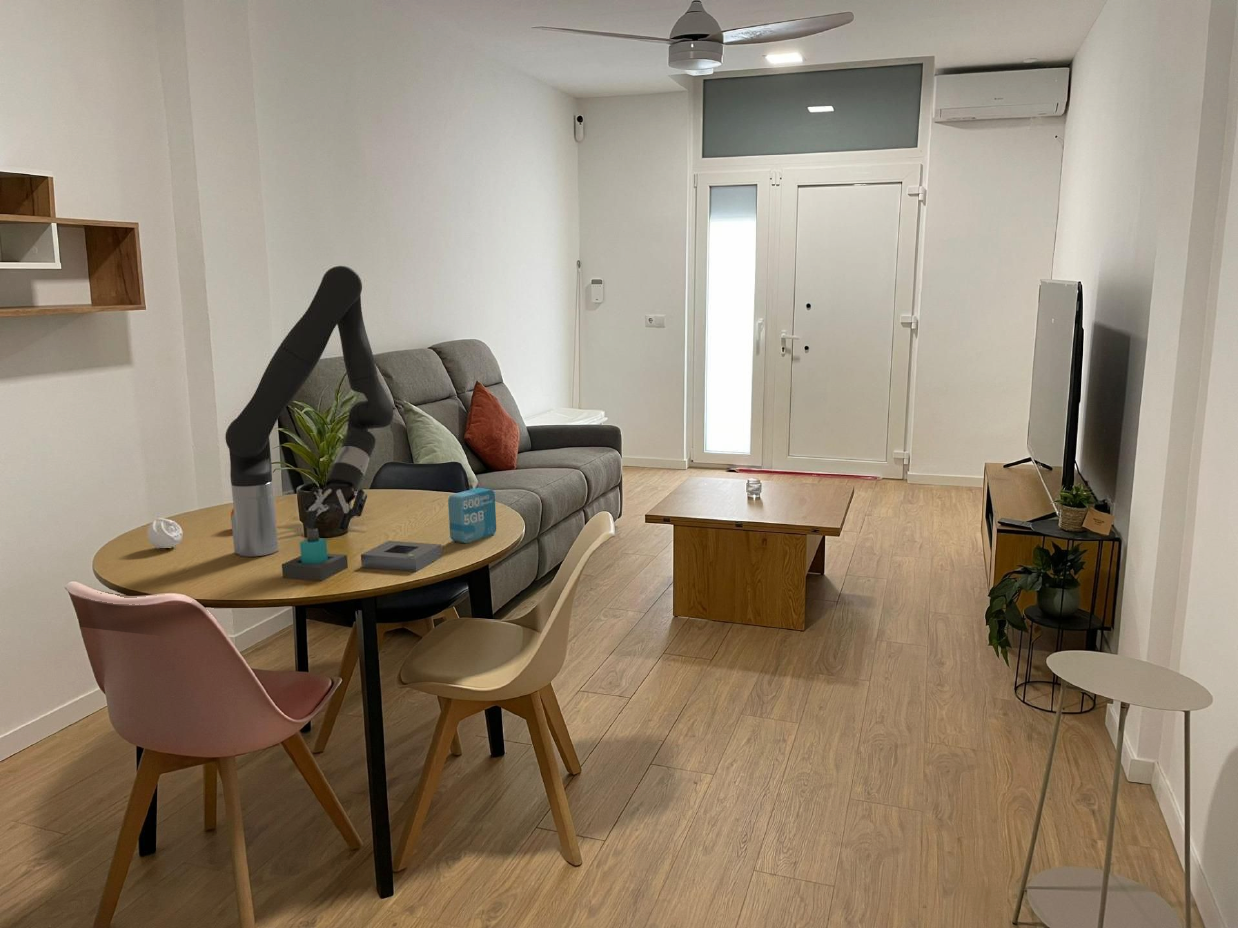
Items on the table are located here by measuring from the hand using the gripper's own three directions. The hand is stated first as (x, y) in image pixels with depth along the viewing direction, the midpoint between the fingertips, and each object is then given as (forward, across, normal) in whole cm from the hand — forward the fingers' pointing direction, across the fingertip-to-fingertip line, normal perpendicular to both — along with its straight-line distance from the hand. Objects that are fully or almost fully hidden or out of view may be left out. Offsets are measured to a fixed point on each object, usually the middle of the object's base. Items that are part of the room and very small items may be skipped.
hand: (324, 529), depth 212 cm
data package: (-15, +22, +28) cm, 39 cm away
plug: (+9, 0, +3) cm, 10 cm away
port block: (+1, +15, +12) cm, 19 cm away
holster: (+9, 0, +3) cm, 10 cm away
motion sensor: (+4, -49, +9) cm, 50 cm away
